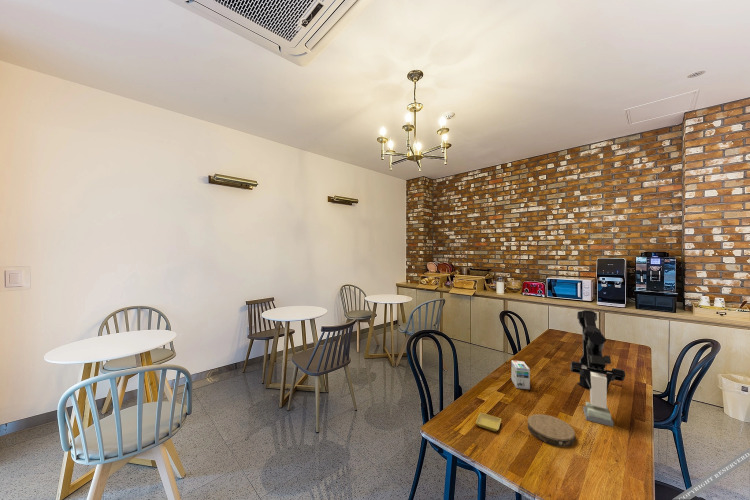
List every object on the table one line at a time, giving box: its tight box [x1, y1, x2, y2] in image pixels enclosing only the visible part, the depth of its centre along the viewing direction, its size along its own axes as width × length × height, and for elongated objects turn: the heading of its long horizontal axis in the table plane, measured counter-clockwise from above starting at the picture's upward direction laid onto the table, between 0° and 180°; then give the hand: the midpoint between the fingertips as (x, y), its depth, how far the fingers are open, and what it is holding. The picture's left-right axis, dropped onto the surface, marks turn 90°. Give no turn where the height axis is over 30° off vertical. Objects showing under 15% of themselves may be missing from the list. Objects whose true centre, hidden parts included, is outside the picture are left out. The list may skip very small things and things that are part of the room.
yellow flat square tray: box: [475, 412, 502, 432], centre depth 118 cm, size 9×9×2 cm
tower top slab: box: [585, 401, 612, 421], centre depth 123 cm, size 8×8×2 cm
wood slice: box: [527, 413, 576, 448], centre depth 113 cm, size 16×16×3 cm
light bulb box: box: [510, 360, 531, 390], centre depth 154 cm, size 11×7×11 cm, turn 168°
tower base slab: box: [583, 405, 614, 428], centre depth 124 cm, size 9×9×2 cm
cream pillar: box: [589, 372, 608, 408], centre depth 123 cm, size 5×5×12 cm
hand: (598, 390), depth 122 cm, fingers closed on cream pillar, 5 cm apart
